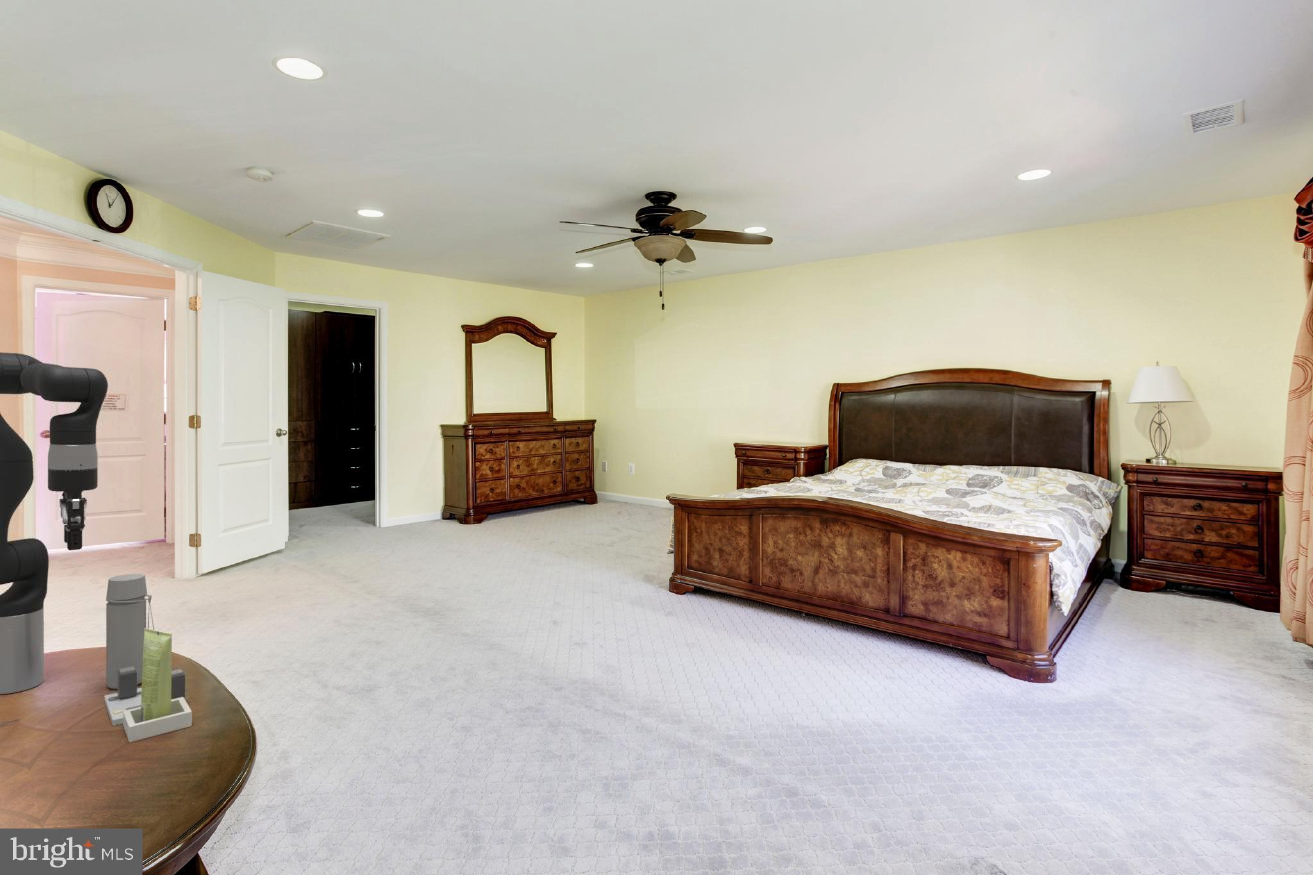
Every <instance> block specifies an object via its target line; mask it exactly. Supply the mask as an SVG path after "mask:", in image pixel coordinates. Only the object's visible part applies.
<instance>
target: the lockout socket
mask: <svg viewBox="0 0 1313 875" xmlns="http://www.w3.org/2000/svg"><path fill="white" fill-rule="evenodd" d="M192 713H193V711H192V709H191V707H190V706H189V704H188V702H187V701H186V699H185V698H184V697H181V698H176V699H172V700H171V715H168V716H164V717H160V718H156V719H152V720H148V721H144V722H141V707H138V708H134V709H129V710H125V711H123V724H122V728H123V729H124V732H125V735H126V738H127V741H128V743H133V742H137V741H139V740H144V739H147V738H152V737H156V736H159V735H163V734H167V733H171V732H174V731H178V730H181V729H186V728H190V727H192V726H193V725H192V724H193V720H192V719H193V714H192Z"/></svg>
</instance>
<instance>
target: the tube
mask: <svg viewBox="0 0 1313 875" xmlns="http://www.w3.org/2000/svg"><path fill="white" fill-rule="evenodd" d="M172 636H173V634H172V632H171V633H170V632H166V631H165V632H164V631H160V630H155V629H154V630H153V629H151V628H149V629H148V627H146V628H144V644H143V668H142V683H141V688H142V694H141V722H144V721H148V720H152V719H156V718H160V717H164V716H168V715H171V671H172V670H173V669H172V668H173V667H172V661H173V660H172V659H173V658H172V656H173V655H172V650H173V649H172V648H173V646H172V645H173V644H172V643H173V641H172V639H173V638H172Z"/></svg>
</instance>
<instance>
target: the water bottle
mask: <svg viewBox="0 0 1313 875" xmlns="http://www.w3.org/2000/svg"><path fill="white" fill-rule="evenodd" d="M152 597H153V595H149V594H148V590H147V582H146V575H145V574H143V573H126V574H120V575H116V576H112V577H109V578H108V581H107V590H106V597H105V601H106V604H105V606H106V608H105V620H106V621H105V622H106V623H105V624H106V626H105V628H106V629H105V631H106V633H105V637H106V640H105V641H106V642H105V643H106V644H105V647H106V650H105V652H106V653H105V656H106V657H105V658H106V659H105V660H106V661H105V662H106V663H105V666H106V667H105V668H106V671H105V675H106V676H105V677H106V682H105V683H106V686H107V687H108V688H109V689H111V690H117V672H118V671H119V669H122V668H127V667H132V666H134V668H135V669H136V671H137V686H138V685H142V668H143V644H144V628H147V629H150V628H149V627H150V615H151V617H153V614H152V611H150V613H148V616H147V603H148V605H149V610H152V607H151V605H152V604H151V600H152ZM147 619H148V620H147ZM151 623H152V624H154V621H153V618H151ZM152 630H155V626H154V625H152Z"/></svg>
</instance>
